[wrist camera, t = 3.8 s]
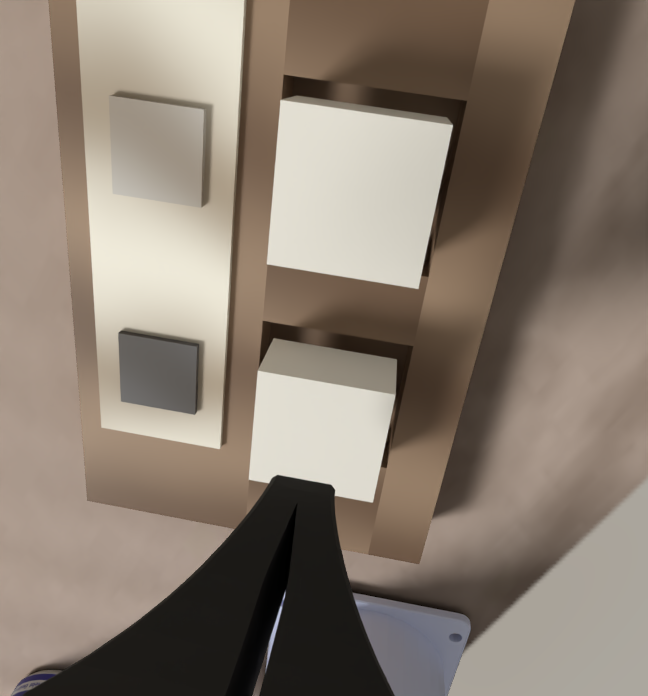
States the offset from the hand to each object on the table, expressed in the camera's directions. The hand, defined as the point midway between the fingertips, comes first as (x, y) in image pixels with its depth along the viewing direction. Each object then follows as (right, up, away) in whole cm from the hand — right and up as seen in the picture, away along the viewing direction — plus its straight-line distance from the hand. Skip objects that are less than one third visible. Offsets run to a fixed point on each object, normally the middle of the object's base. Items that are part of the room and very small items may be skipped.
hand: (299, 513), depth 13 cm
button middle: (+1, +8, +2) cm, 8 cm away
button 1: (+1, +2, +4) cm, 5 cm away
